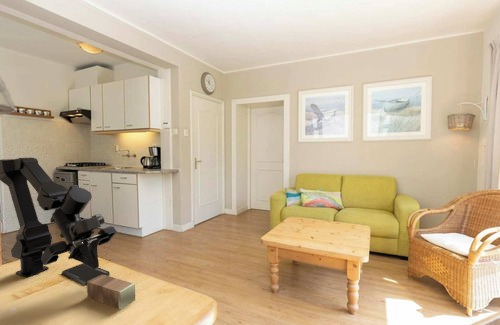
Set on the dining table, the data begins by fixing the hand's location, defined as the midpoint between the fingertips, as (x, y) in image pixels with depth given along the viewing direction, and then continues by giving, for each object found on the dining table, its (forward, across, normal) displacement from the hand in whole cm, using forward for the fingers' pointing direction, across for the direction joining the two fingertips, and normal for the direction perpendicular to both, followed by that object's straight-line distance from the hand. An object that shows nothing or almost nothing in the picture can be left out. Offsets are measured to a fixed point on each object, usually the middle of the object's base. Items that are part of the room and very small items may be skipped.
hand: (96, 267), depth 71 cm
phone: (-4, +6, +16) cm, 18 cm away
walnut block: (+3, 0, +4) cm, 5 cm away
